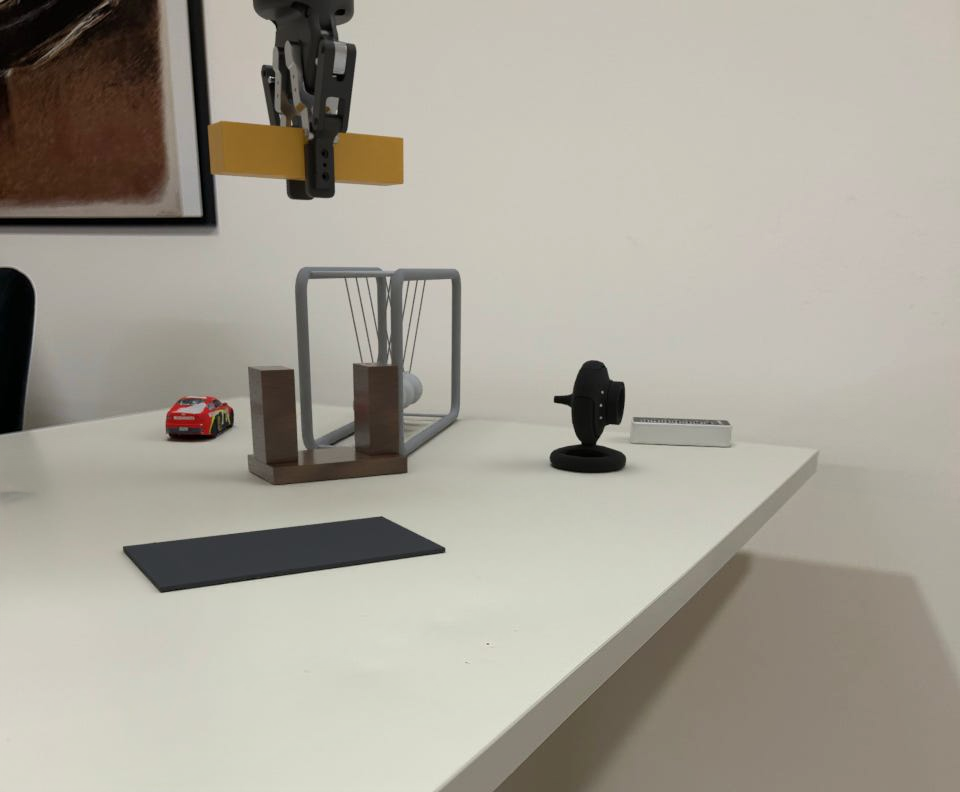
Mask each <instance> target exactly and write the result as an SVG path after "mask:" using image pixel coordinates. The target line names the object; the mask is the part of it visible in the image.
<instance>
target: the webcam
mask: <svg viewBox="0 0 960 792" xmlns="http://www.w3.org/2000/svg"><path fill="white" fill-rule="evenodd" d="M553 403H554V404H560V405H565V406H568V407H569V408H570V413H571V423H572V427H573V430H574V433H575V436H576V438H577V439H578V441H579V442H580V443H579V444H578V443H577V444H572V445H571V444H570V445H566V446H561V447H558V448H556V449H554V450H552V451H551V452H550V454H549V462H550V463H551V465H552V466H554V467H555V468H558V469H562V470H567V471H574V472H583V473H584V472H585V473H601V472H602V473H603V472H613V471H620V470H622V469H623V468H624V467H625V466H626V463H627V457H626V454H625V453H623V452H622V451H620V450H617V449H614V448H611V447H607V446H605V445H600V444H597V443H598V441H599V440H600V438H601V437H602V434H603V433H604V431H605V428H606V427H607V426H609V425H611V426H612V425H613V426H620V425H621V424H622V422H623V417H624V413H625V405H626V385H625V382H624V381H618V380H613V379H611V378H610V375H609V371H608V367H606V365H605V363H604V362H602V361H599V360H596V359H590V360H587V361H585V362H584V363H582V365H581V367H580V368H579V370H578V371H577V374H576V377H575V380H574V383H573V386H572V393H570V394H565V395H563V394H562V395H554V396H553Z"/></svg>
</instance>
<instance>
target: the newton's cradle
mask: <svg viewBox="0 0 960 792" xmlns="http://www.w3.org/2000/svg"><path fill="white" fill-rule="evenodd" d="M362 278H364V279H365V281H366V286H367V290H368V291H367V292H368V297H369V301H370V306H371V311H372V316H373V322H374V326H375V333H376V337H377V358H376V362H383V363H387V364H388V361H389V356H390V364H392V365H397V366H398V400H399V454H402V455H405V456H408V455H409V454H411V453H413V451H415V450H416V449H418V448H419V447H420V446H421V445H423V444H425V443H426V442H428V441H429V440H430V439H431V438H433V437H434V436H435V435H437V434H439V433H440V432H441V431H442V430H444V429H445V428H447V427H448V426H450V425H451V424H452V423H454V422H455V421H456V420H457V419H458V418H459V416H460V415H459V414H460V410H461V409H460V408H461V362H462V361H461V359H462V357H461V356H462V355H461V354H462V353H461V352H462V351H461V349H462V347H461V346H462V279H461V274H460V272H459V270H458V269H456V268H398V269H396V270H383V269H382V268H381V267H378V266H377V267H375V266H373V267H372V266H303V267H301V268H300V269H299V271H298V272H297V274H296V278H295V283H294V301H295V321H296V323H295V324H296V343H297V363H298V364H297V365H298V383H299V384H298V386H299V406H300V409H299V410H300V427H301V439H302V443H303V445H304V448H305V450H314V449H327V448H340V447H352V445H351V446H350V445H349V446H348V445H332V444H334V443H336V442H339V441H340V440H342V439H344V438H345V437H347V436H349V435H352V434H353V433H355V427H354V420H353V421H350V422H349V423H347V424H345V425H343V426H341V427H338V428H336V429H335V430H332V431H330V432H328V433H326V434H324V435H322V436H320V437H317V438H316V439H315V437H314V425H313V401H312V400H313V399H312V380H311V379H312V378H311V356H310V355H311V354H310V353H311V352H310V331H309V306H308V284H309V283H308V282H309V280H325V279H326V280H327V279H328V280H329V279H330V280H331V279H344V284H345V288H346V293H347V298H348V302H349V303H348V304H349V307H350V312H351V317H352V322H353V327H354V332H355V338H356V342H357V347H358V348H357V349H358V352H359V357H360V363H364V361H363V356H362V350H361V345H360V340H359V336H358V330H357V326H356V321H355V316H354V311H353V306H352V301H351V296H350V291H349V285H348V279H355V282H356V283H355V284H356V287H357V288H356V289H357V293H358V297H359V298H358V299H359V302H360V308H361V313H362V317H363V318H362V319H363V324H364V329H365V332H366V338H367V343H368V348H369V353H370V358H371V363H375V362H374V356H373V353H372V352H373V351H372V347H371V341H370V337H369V332H368V327H367V322H366V317H365V316H366V315H365V311H364V306H363V301H362V297H361V292H360V291H361V290H360V285H359V280H358V279H362ZM369 278H375V282H376V303H377V305H376V306H377V307H376V309H377V321H376V315H375V311H374V304H373V300H372V299H373V298H372V295H371V289H370V285H369V284H370V283H369ZM387 278H389V284H388V281H387ZM435 280H436V281H437V280H451V365H450V366H451V367H450V369H451V371H450V372H451V373H450V375H451V376H450V377H451V379H450V381H451V382H450V384H451V385H450V386H451V387H450V410H449V413H447V414H444V413H443V414H441V413H418V412H404V410H405V409H406V408H408V407H409V406H411V405H414V404H416V403H417V402H418V401H419V400H420V399H421V397H422V396H423V391H424V388H423V384H422V381H421V380H420V378H419V377H418V376H417V375H415V374H413V373H411V371H412V366H413V365H412V364H413V359H414V355H415V354H414V353H415V346H416V341H417V336H418V329H419V324H420V318H421V317H420V316H421V310H422V305H423V299H424V292H425V288H426V282H427V281H435ZM411 281H415V287H414V294H413V299H412V305H411V311H410V316H409V323H408V329H407V333H406V341H405V346H404V331H403V329H404V326H403V325H404V324H403V322H404V316H405V311H406V306H407V299H408V293H409V286H410V282H411ZM418 281H423V287H422V292H421V298H420V304H419V311H418V317H417V322H416V326H415V327H416V328H415V334H414V340H413V346H412V353H411V358H410V363H409V370H405V367H404V365H405V360H406V354H407V347H408V342H409V341H408V340H409V336H410V330H411V329H410V328H411V323H412V317H413V312H414V307H415V306H414V305H415V301H416V300H415V299H416V294H417V289H418ZM404 282H407V285H406V291H405V296H404V303H403V288H404ZM388 305H389V307H390V336H389V334H388V320H387V319H388V315H387V313H388ZM352 410H353V411H354V400H353V401H352ZM404 417H416V418H417V417H419V418H440V419H438V420H437V421H435V422H434V423H432V424H431V425H430V426H427V427H426V428H425V429H423V430H421V431H420V432H419V433H417V434H416V435H414V436H413V437H411V438H410V439H408V440H407V441H405V430H404V429H405V426H404V425H405V424H404V423H405V422H404V420H405V419H404Z"/></svg>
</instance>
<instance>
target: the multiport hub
mask: <svg viewBox="0 0 960 792" xmlns="http://www.w3.org/2000/svg"><path fill="white" fill-rule="evenodd" d="M732 434H733V425H732V423H731V422H730V421H729V420H726V419H705V418H704V419H702V418H700V419H699V418H678V417H677V418H675V417H674V418H673V417H650V416H649V417H647V416H633V417H631V418H630V430H629V443H630V444H645V445H646V444H647V445H669V446H671V445H672V446H694V447H718V448H719V447H721V448H729V447H731V443H732V442H731V441H732V436H733V435H732Z"/></svg>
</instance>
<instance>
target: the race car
mask: <svg viewBox="0 0 960 792" xmlns="http://www.w3.org/2000/svg"><path fill="white" fill-rule="evenodd" d="M234 424H235V411H234V408H233V407H232V406H230V405H228V403H227V402H221V401H220V400H219V399H218V398H216V397H214V396H206V395H189V396H188V395H187V396H183V397H181V398H179V399H178V400H177V401H176V402H175V403H174V404H173V406H171V408H170V409H169V410H168V411H167V413H166V415H165V434H166V435H168V436H169V437H171V438H178V437H179V435H202V436H203V435H206V437H207V438H214V439H215V438H216V437H217V436H218V433H219V432H220V431H222V430H223V429H225V428H232V427H233V426H234Z"/></svg>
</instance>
